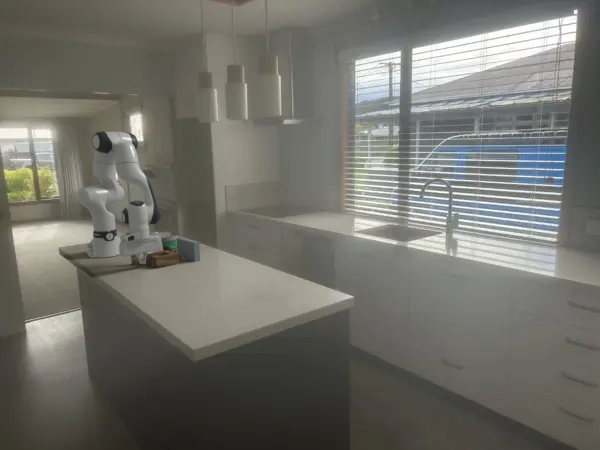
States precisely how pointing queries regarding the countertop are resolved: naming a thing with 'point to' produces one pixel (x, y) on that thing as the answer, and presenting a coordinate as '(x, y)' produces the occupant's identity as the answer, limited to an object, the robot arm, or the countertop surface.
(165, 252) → the block
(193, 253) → the wall
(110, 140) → the robot arm
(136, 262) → the dowel
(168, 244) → the green rounded container
